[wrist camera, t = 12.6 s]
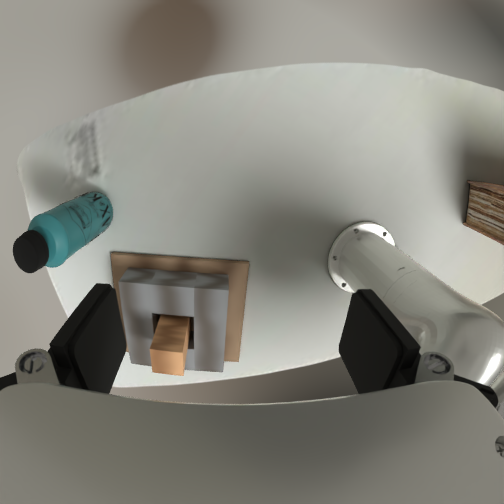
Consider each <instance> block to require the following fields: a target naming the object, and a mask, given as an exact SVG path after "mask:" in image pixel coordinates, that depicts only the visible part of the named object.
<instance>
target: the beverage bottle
mask: <svg viewBox="0 0 504 504" xmlns="http://www.w3.org/2000/svg"><path fill="white" fill-rule="evenodd" d="M80 196H81V195H80ZM75 198H76V199H73V200H71V201H69V202H66V203H65V202H64V204H63V203H62V204H60V205H59V206H57V207H56V208H53V209H51V210H49V211H47V212H45V213H42V214H39V215H37V216H35V217H34V218H33V219H32V221H31V222H30V225H29V228H28V231H26V232H25V233H23V234H22V235H21V236H20V237H19V238H17V239H16V241H15V243H14V245H13V255H14V259H15V261H16V263H17V265H18V266H19V267H20V269H22V270H23V271H24V272H27V273H34V272H35V271H37V270H38V269H40V268H42V267H43V266H47V267H58V266H60V265H61V264H63V263H64V262H65V260H67V259H68V258H69V257H70V256H71V255H73V254H74V253H75V252H76V251H78V250H79V249H81V248H82V247H83V246H85V245H87V243H88V242H89V243H90V242H91V241H93V239H94V238H96V237H98V236H99V235H100V233H101V232H102V233H103V232H104V230H105V229H106V228H107V227H108V226H109V225H111V224H110V223H111V221H112V218H113V208H112V205H111V203H110V201H109V199H108V198H107V197H106V196H104V195H103V194H101V193H97V192H94V191H92V192H91V193H88V194H87V193H86V194H83V195H82V196H81V197H78V198H77V197H75ZM89 243H88V244H89Z"/></svg>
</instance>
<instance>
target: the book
mask: <svg viewBox="0 0 504 504" xmlns="http://www.w3.org/2000/svg"><path fill="white" fill-rule="evenodd" d="M467 182H468V183H470V193H469V203H468V211H467V219H466V222H464V223H463V225H465V226H467V227H469V228H471V229H473V230H475V231H477V232H479V233H481V234H483V235H485V236H487V237H489V238H491V239H493V240H495V241H497V242H499V243H501V244H502V245H504V185H498V184H492V183H485V182H477V181H470V180H467Z"/></svg>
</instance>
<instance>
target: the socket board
mask: <svg viewBox="0 0 504 504" xmlns="http://www.w3.org/2000/svg"><path fill="white" fill-rule="evenodd" d="M111 263H112V273H113V283H114V288H115V290H116V294H117V300H118V305H119V311H120V316H121V321H122V325H123V330H124V334H125V339H126V344H127V348H126V352H129V355H130V360H131V363H132V364H139V365H147V366H152V365H151V357H150V346H151V343H152V340H153V337H154V334H155V331H156V328H157V325H158V322H159V319H160V316H161V314H166V315H178V316H190V317H191V330H190V336H189V342H188V349H187V355H186V362H185V369H184V370H195V371H210V372H223V366H224V361H233V362H239V354H240V344H241V335H242V326H243V317H244V307H245V298H246V289H247V280H248V271H249V261H234V260H219V259H204V258H189V257H175V256H161V255H147V254H134V253H121V252H112V253H111Z"/></svg>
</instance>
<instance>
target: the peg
mask: <svg viewBox="0 0 504 504" xmlns="http://www.w3.org/2000/svg"><path fill="white" fill-rule="evenodd" d="M190 330H191V317H190V316H178V315H166V314H161V316H160V319H159V322H158V325H157V328H156V331H155V334H154V337H153V340H152V343H151V346H150V357H151V365H152V372H154V373H162V374H170V375H179V376H184V369H185V362H186V355H187V349H188V342H189V336H190Z"/></svg>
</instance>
